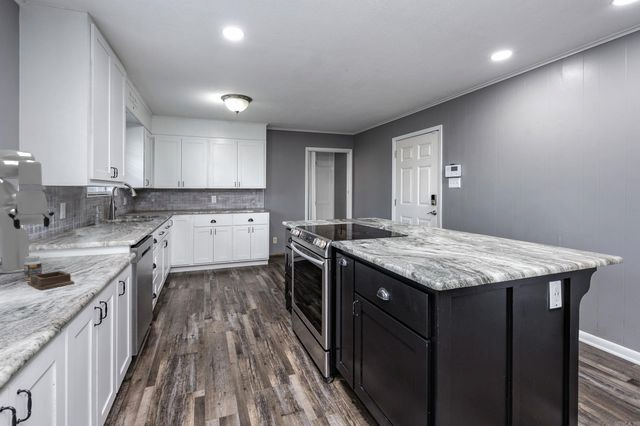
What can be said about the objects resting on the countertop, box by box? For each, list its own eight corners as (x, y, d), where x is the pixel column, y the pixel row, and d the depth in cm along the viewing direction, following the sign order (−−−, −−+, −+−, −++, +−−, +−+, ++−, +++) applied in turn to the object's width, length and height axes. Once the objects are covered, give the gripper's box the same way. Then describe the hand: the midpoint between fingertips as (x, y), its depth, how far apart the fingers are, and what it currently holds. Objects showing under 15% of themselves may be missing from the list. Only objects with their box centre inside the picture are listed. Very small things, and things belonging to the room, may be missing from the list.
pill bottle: (31, 281, 134) (30, 258, 134) (20, 280, 135) (20, 257, 135) (45, 277, 140) (44, 256, 139) (35, 276, 141) (34, 255, 140)
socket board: (27, 284, 129) (27, 275, 129) (59, 278, 139) (59, 269, 138) (41, 290, 122) (40, 280, 122) (74, 283, 132) (74, 274, 131)
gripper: (51, 189, 145) (53, 225, 145) (0, 188, 130) (2, 229, 130) (58, 189, 141) (60, 226, 142) (6, 188, 126) (8, 230, 127)
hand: (32, 227), depth 136 cm, fingers open, 9 cm apart
